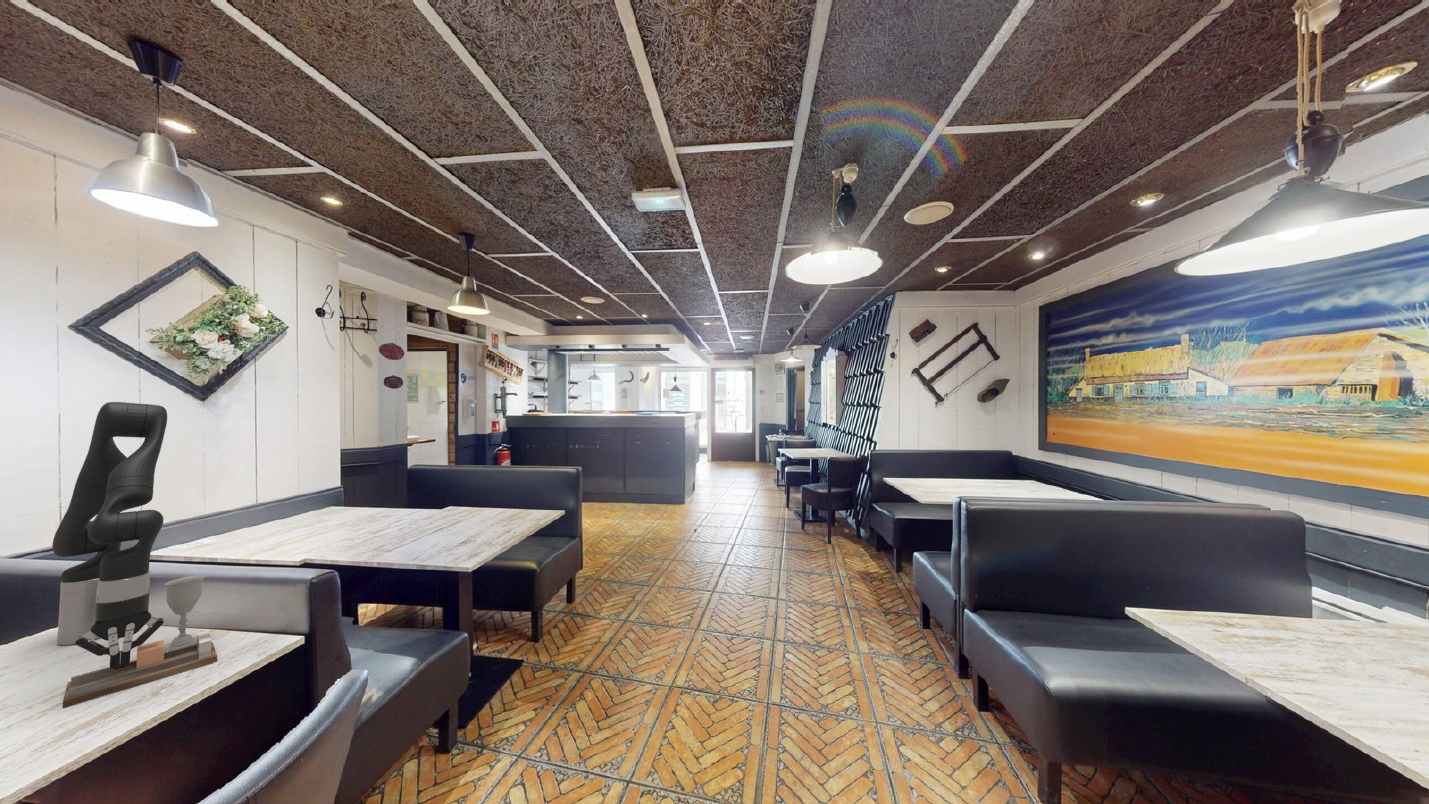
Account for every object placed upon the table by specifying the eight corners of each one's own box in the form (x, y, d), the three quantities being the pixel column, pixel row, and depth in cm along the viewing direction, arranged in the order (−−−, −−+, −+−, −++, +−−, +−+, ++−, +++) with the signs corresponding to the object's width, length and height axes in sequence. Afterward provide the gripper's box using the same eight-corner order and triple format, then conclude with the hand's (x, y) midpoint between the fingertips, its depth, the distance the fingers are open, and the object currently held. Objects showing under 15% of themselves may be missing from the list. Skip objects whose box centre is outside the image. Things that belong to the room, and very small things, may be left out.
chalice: (176, 653, 114) (180, 585, 115) (152, 652, 114) (155, 585, 115) (209, 638, 121) (212, 575, 122) (186, 638, 121) (189, 575, 122)
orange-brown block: (136, 666, 105) (137, 646, 105) (162, 659, 108) (163, 639, 108) (136, 674, 102) (137, 653, 102) (163, 666, 105) (164, 646, 105)
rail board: (67, 688, 99) (68, 664, 99) (212, 647, 117) (213, 627, 117) (62, 708, 92) (63, 682, 93) (216, 661, 110) (217, 640, 110)
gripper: (168, 582, 110) (164, 650, 109) (75, 600, 99) (71, 675, 99) (168, 590, 105) (164, 660, 105) (72, 609, 95) (67, 688, 94)
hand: (119, 667), depth 102 cm, fingers closed
